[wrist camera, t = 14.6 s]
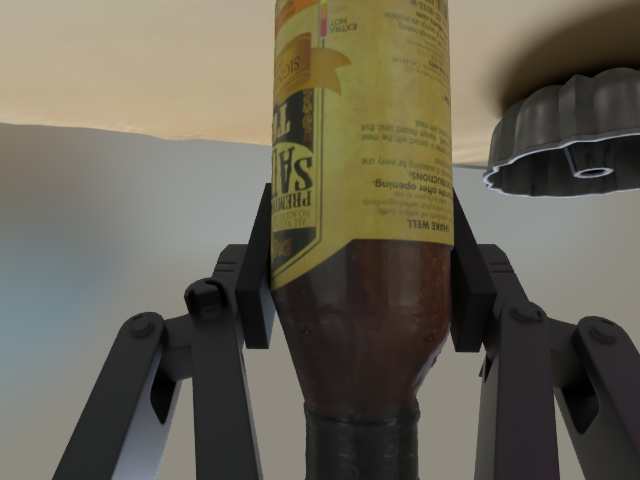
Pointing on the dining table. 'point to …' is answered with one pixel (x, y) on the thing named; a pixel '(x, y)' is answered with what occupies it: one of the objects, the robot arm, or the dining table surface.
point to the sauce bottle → (362, 222)
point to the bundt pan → (570, 139)
